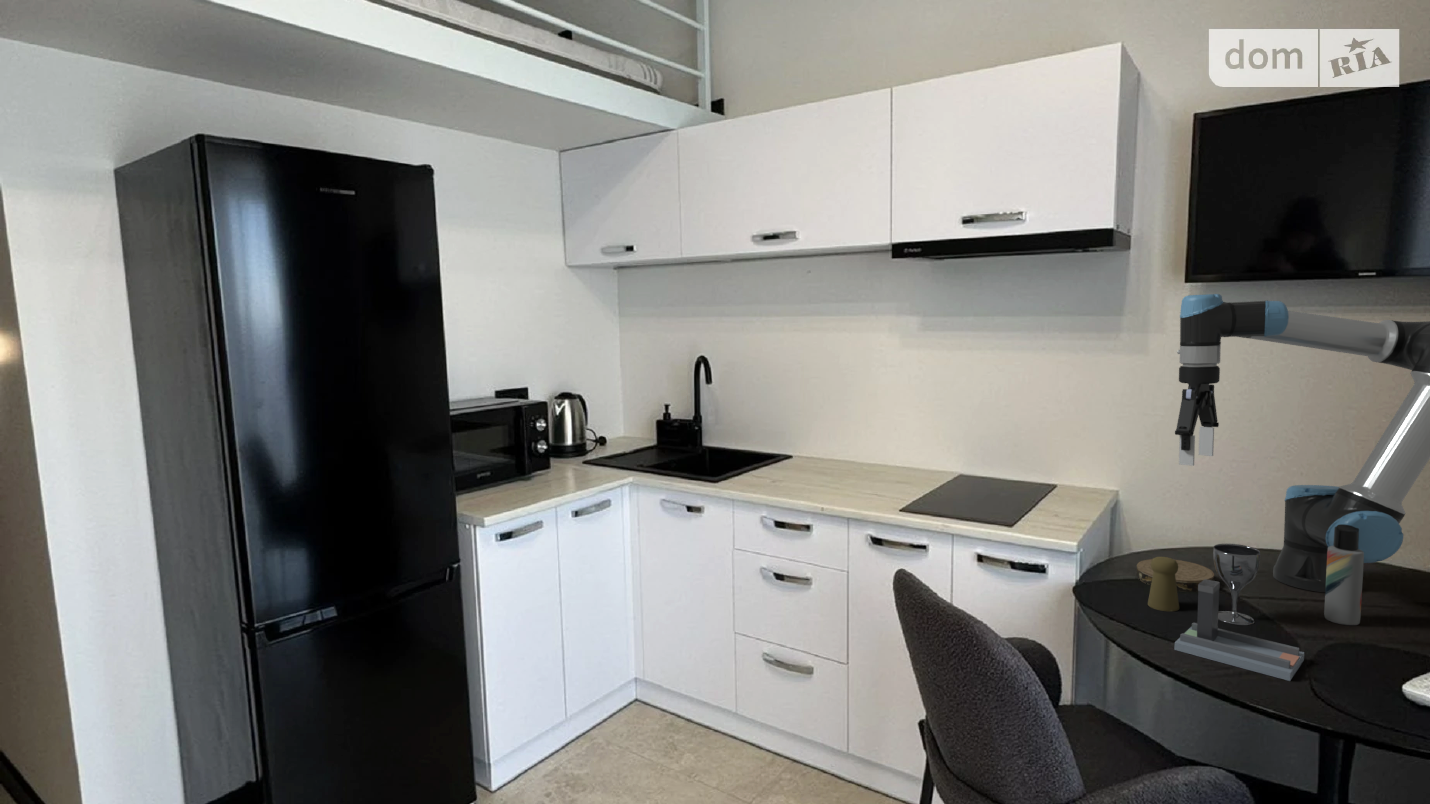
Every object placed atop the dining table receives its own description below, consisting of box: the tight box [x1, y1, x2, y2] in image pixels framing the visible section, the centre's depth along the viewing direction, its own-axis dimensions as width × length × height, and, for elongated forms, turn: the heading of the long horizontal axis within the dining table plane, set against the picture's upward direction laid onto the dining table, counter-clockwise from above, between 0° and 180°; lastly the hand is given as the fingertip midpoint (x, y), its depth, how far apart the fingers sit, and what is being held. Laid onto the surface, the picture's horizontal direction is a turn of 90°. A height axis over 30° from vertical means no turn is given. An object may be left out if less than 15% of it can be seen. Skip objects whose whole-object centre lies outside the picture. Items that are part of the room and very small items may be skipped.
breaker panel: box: [1174, 622, 1305, 682], centre depth 140 cm, size 18×11×3 cm, turn 42°
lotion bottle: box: [1323, 524, 1365, 626], centre depth 152 cm, size 6×6×20 cm
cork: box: [1147, 556, 1180, 612], centre depth 163 cm, size 6×6×11 cm
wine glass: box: [1212, 543, 1261, 626], centre depth 155 cm, size 8×8×15 cm
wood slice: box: [1136, 558, 1215, 593], centre depth 179 cm, size 16×16×3 cm
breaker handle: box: [1196, 579, 1221, 641], centre depth 143 cm, size 2×4×11 cm, turn 132°
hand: (1196, 460), depth 164 cm, fingers open, 13 cm apart
